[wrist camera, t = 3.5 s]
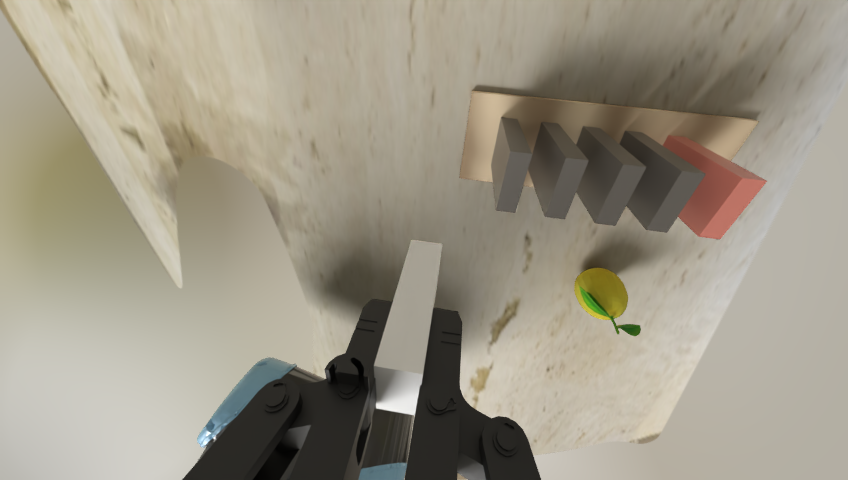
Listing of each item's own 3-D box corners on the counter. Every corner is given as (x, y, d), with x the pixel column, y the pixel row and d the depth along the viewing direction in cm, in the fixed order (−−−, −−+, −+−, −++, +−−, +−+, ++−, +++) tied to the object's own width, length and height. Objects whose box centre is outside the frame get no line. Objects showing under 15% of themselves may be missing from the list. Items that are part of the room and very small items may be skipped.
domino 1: (490, 164, 33) (495, 210, 25) (500, 117, 30) (510, 151, 22) (505, 166, 33) (515, 212, 25) (517, 118, 30) (532, 153, 22)
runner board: (459, 175, 35) (459, 178, 34) (472, 90, 30) (472, 91, 29) (694, 203, 33) (698, 207, 33) (752, 119, 28) (758, 121, 27)
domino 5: (642, 182, 32) (698, 236, 24) (668, 135, 29) (742, 178, 21) (658, 184, 32) (720, 239, 24) (685, 137, 29) (767, 181, 21)
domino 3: (565, 173, 32) (594, 223, 24) (583, 125, 29) (623, 164, 21) (580, 175, 32) (615, 225, 24) (599, 127, 29) (646, 167, 21)
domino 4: (603, 178, 32) (646, 229, 24) (625, 130, 29) (682, 171, 21) (619, 180, 32) (667, 232, 24) (642, 132, 29) (706, 174, 21)
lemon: (618, 285, 41) (652, 349, 33) (572, 293, 43) (594, 355, 35) (615, 248, 38) (652, 308, 30) (565, 258, 40) (587, 317, 32)
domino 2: (527, 169, 33) (544, 216, 25) (541, 121, 30) (565, 157, 22) (542, 170, 33) (564, 219, 25) (558, 123, 30) (588, 160, 22)
